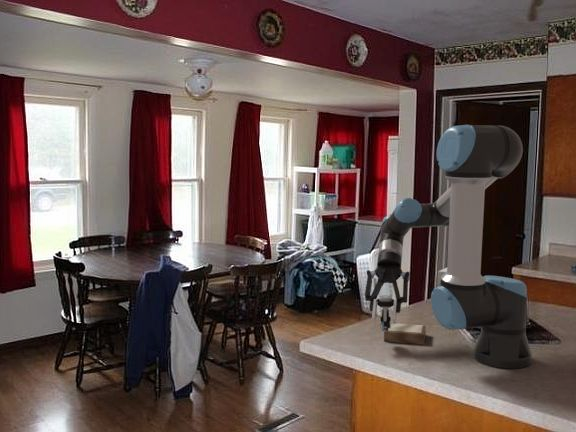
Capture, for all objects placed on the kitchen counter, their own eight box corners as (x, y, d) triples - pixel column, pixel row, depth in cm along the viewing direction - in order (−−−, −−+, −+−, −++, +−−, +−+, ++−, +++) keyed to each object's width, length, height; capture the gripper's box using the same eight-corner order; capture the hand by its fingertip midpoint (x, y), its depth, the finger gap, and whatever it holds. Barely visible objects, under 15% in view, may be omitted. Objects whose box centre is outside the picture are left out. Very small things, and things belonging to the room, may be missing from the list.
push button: (393, 333, 170) (393, 300, 169) (375, 332, 171) (375, 299, 170) (394, 327, 176) (394, 295, 175) (377, 326, 178) (377, 294, 177)
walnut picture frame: (425, 334, 184) (425, 324, 184) (423, 344, 175) (423, 333, 175) (387, 331, 188) (387, 322, 188) (384, 341, 178) (384, 330, 178)
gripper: (419, 264, 184) (416, 328, 170) (362, 263, 190) (354, 325, 175) (418, 250, 179) (414, 315, 164) (360, 249, 184) (351, 312, 170)
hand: (383, 320), depth 170 cm, fingers closed on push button, 5 cm apart
